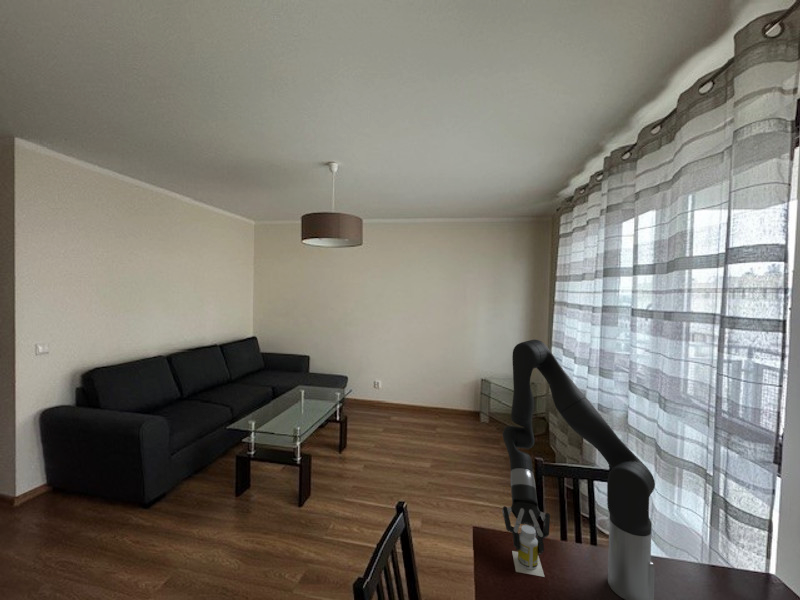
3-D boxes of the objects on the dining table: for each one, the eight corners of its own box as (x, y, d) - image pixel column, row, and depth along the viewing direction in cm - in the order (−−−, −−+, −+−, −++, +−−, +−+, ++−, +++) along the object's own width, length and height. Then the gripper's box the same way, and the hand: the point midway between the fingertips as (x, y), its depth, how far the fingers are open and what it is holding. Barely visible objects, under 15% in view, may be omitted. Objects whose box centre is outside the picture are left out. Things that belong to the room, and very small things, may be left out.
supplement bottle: (534, 557, 98) (535, 524, 98) (540, 571, 93) (541, 536, 93) (515, 555, 99) (516, 522, 99) (520, 569, 93) (521, 534, 93)
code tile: (538, 556, 99) (538, 555, 99) (544, 577, 91) (544, 576, 91) (511, 551, 100) (511, 550, 100) (516, 572, 92) (516, 571, 92)
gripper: (501, 480, 105) (504, 544, 93) (549, 486, 102) (559, 553, 90) (498, 487, 110) (501, 549, 98) (544, 494, 107) (553, 558, 95)
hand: (529, 551), depth 94 cm, fingers closed on supplement bottle, 5 cm apart
